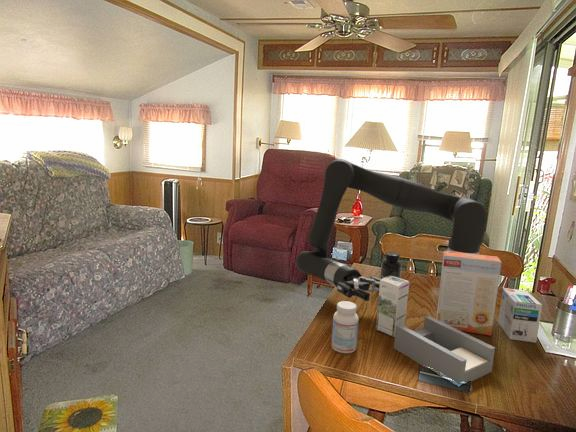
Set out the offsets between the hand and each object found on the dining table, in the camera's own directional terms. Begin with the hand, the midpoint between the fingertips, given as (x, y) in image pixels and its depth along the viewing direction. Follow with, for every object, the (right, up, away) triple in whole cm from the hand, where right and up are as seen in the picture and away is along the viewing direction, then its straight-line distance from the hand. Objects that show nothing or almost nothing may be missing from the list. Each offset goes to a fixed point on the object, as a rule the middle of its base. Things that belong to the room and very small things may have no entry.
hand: (380, 294), depth 110 cm
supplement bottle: (+10, -3, +31) cm, 33 cm away
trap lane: (+11, -12, -15) cm, 22 cm away
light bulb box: (+37, -11, 0) cm, 39 cm away
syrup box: (+2, -9, -2) cm, 10 cm away
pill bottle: (-12, -11, -12) cm, 20 cm away
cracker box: (+23, -10, +2) cm, 25 cm away
